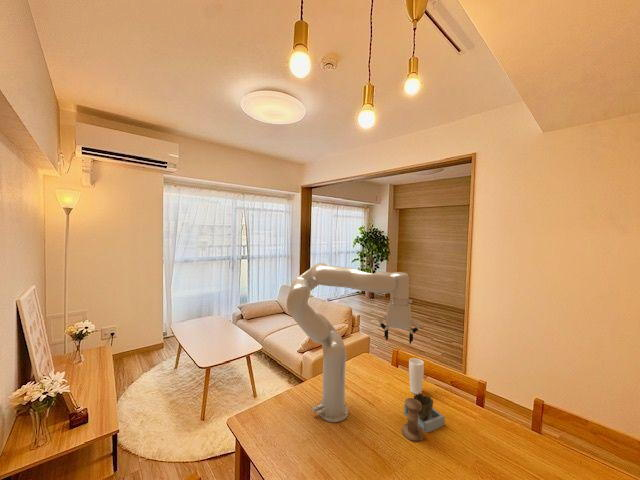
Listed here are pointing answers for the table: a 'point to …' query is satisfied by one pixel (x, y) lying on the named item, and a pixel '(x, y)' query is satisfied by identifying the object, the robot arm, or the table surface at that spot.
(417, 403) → the bobbin
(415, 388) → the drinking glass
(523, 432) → the table surface
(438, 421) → the open box
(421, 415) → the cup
